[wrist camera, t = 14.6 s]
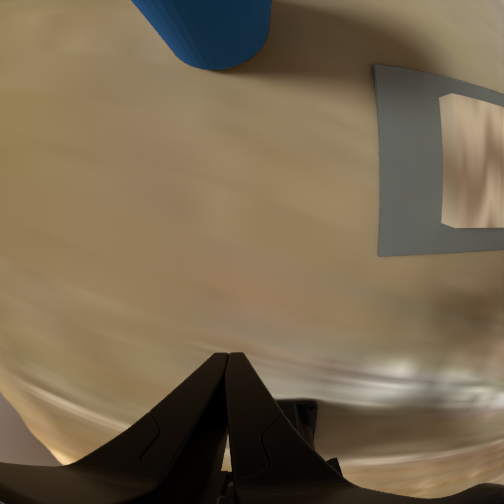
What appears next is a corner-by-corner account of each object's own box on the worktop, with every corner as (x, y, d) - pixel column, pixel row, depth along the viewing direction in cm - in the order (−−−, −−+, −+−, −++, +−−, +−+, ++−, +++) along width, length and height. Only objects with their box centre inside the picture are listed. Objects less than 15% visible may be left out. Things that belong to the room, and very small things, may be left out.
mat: (512, 247, 20) (514, 248, 20) (377, 255, 20) (379, 256, 20) (512, 98, 16) (515, 98, 16) (372, 65, 17) (374, 63, 16)
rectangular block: (441, 222, 19) (496, 222, 19) (454, 228, 17) (510, 227, 17) (438, 97, 17) (495, 110, 17) (452, 93, 15) (509, 109, 15)
